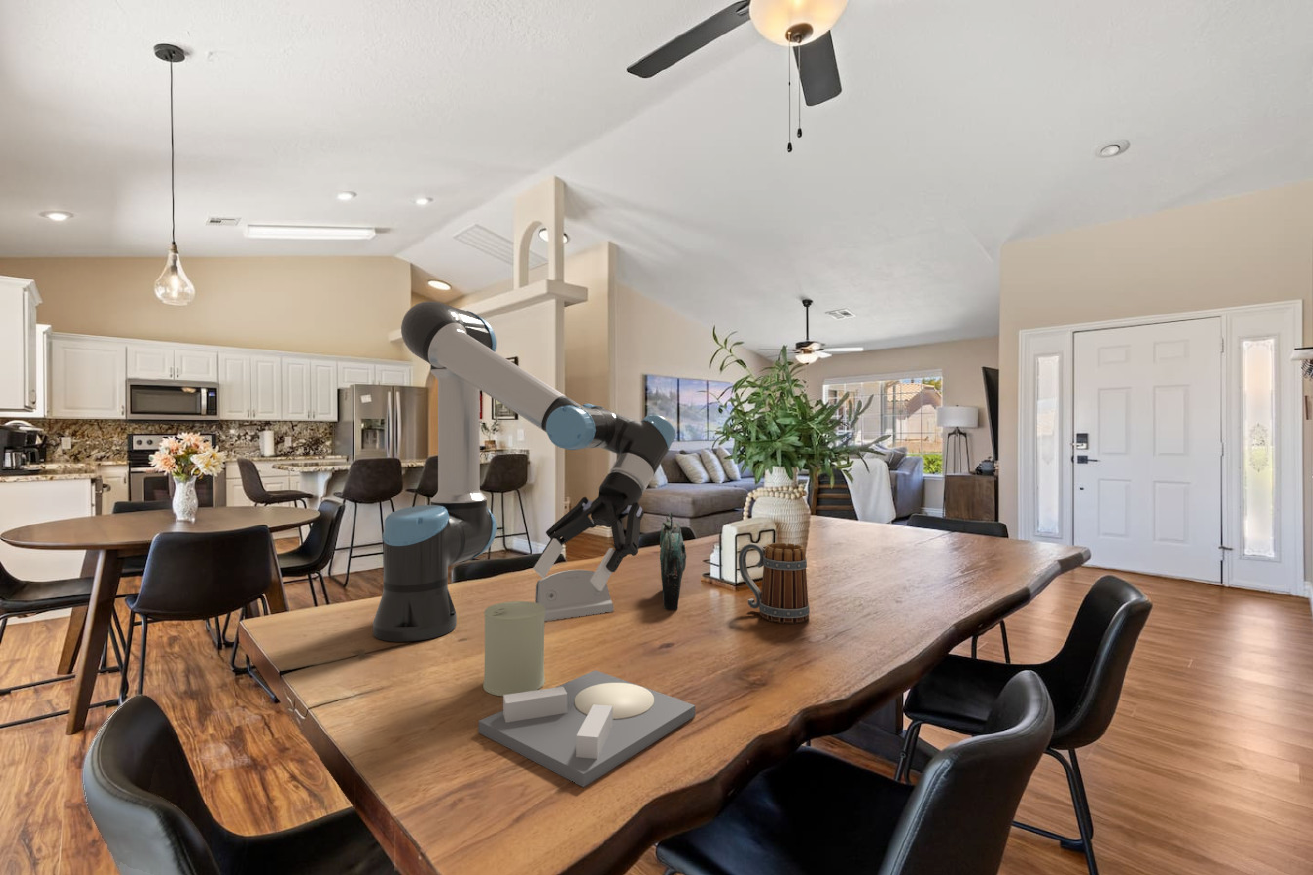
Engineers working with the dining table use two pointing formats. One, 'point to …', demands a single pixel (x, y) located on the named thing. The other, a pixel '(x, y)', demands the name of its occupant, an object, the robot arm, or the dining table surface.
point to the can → (514, 647)
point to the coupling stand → (585, 724)
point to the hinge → (571, 595)
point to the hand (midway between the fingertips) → (565, 579)
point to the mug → (779, 582)
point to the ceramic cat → (671, 562)
